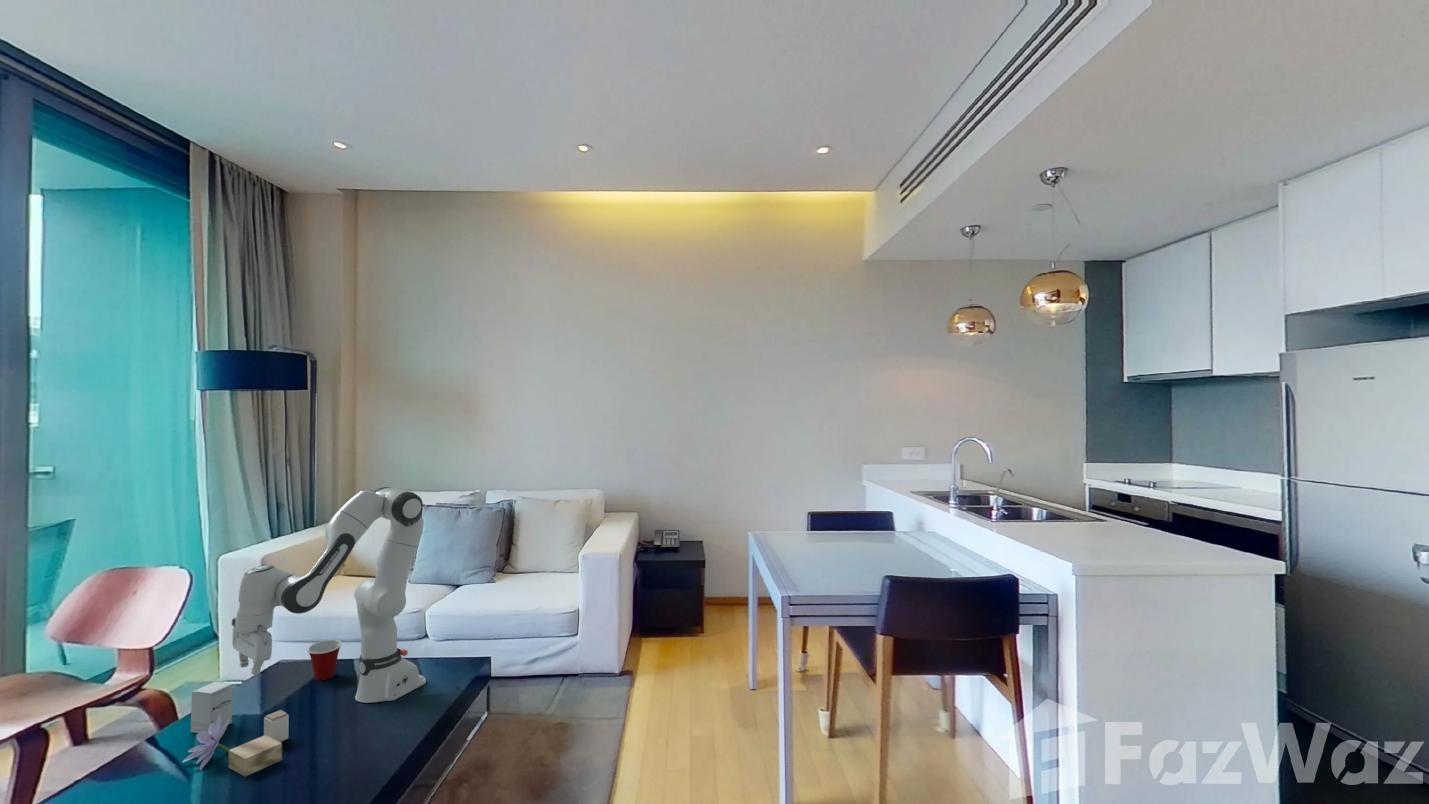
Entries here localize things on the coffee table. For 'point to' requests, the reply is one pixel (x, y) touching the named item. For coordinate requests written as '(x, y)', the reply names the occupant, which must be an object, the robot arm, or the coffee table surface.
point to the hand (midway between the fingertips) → (249, 670)
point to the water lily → (208, 742)
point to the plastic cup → (324, 658)
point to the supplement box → (211, 705)
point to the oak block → (255, 755)
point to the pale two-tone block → (277, 725)
